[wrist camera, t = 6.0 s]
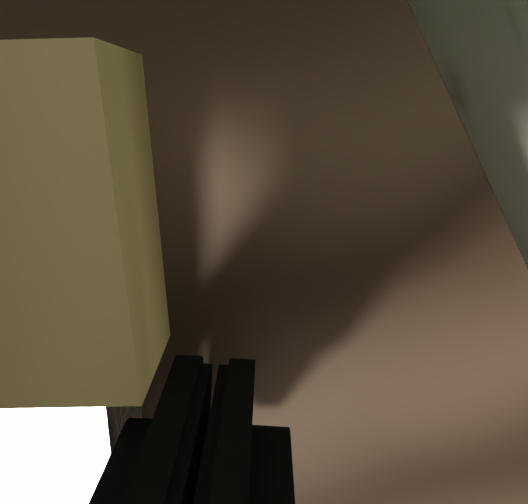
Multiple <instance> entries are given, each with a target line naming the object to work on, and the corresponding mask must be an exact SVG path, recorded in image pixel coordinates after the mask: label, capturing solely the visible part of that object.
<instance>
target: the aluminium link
mask: <svg viewBox="0 0 528 504" xmlns="http://www.w3.org/2000/svg"><path fill="white" fill-rule="evenodd" d="M128 418H143V416H142V406H123V407H69V408H16V409H0V504H89V501H90V499H91V497H92V495H93V493H94V490H95V488H96V486H97V484H98V481H99V479H100V477H101V475H102V472H103V470H104V468H105V466H106V463H107V461H108V459H109V457H110V455H111V452H112V450H113V448H114V446H115V443H116V441H117V439H118V437H119V434H120V432H121V430H122V428H123V425H124V424H125V422H126V420H127V419H128Z"/></svg>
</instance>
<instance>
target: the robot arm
mask: <svg viewBox="0 0 528 504" xmlns="http://www.w3.org/2000/svg"><path fill="white" fill-rule="evenodd" d="M254 380H255V359H242V358H230V360H229V365H225V364H219V367H218V372H217V378H216V383H215V388H214V394H213V399H212V404H211V394H212V364H208V363H203V356H193V355H176V356H175V358H174V361H173V363H172V366H171V369H170V372H169V374H168V377H167V380H166V383H165V385H164V388H163V391H162V394H161V396H160V399H159V402H158V404H157V407H156V410H155V413H154V415H153V418H152V419H147V418H128V419H127V420H126V422H125V424H124V425H123V428H122V430H121V432H120V434H119V437H118V439H117V441H116V443H115V446H114V448H113V450H112V452H111V455H110V457H109V459H108V461H107V463H106V466H105V468H104V470H103V472H102V475H101V477H100V479H99V481H98V484H97V486H96V488H95V490H94V493H93V495H92V497H91V499H90V501H89V504H295V492H294V477H293V462H292V447H291V433H290V428H289V427H280V426H264V425H252V421H253V400H254Z"/></svg>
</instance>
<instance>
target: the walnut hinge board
mask: <svg viewBox="0 0 528 504" xmlns="http://www.w3.org/2000/svg"><path fill="white" fill-rule="evenodd" d="M176 355H193V356H203V363H208V364H212V394H211V404H212V399H213V394H214V388H215V383H216V378H217V372H218V367H219V364H225V365H229V360H230V358H242V359H255V380H254V400H253V421H252V425H264V426H280V427H289V428H290V433H291V447H292V462H293V477H294V492H295V504H528V268H527V266H526V263H525V261H524V259H523V257H522V254H521V252H520V250H519V248H518V246H517V243H516V241H515V239H514V237H513V235H512V232H511V230H510V228H509V226H508V223H507V221H506V219H505V217H504V215H503V212H502V210H501V208H500V206H499V204H498V201H497V199H496V197H495V195H494V193H493V190H492V188H491V186H490V184H489V181H488V179H487V177H486V175H485V173H484V170H483V168H482V166H481V164H480V162H479V159H478V157H477V155H476V153H475V150H474V148H473V146H472V144H471V142H470V139H469V137H468V135H467V133H466V131H465V128H464V126H463V124H462V122H461V120H460V117H459V115H458V113H457V111H456V108H455V106H454V104H453V102H452V100H451V97H450V95H449V93H448V91H447V89H446V86H445V84H444V82H443V80H442V78H441V75H440V73H439V71H438V69H437V66H436V64H435V62H434V60H433V58H432V55H431V53H430V51H429V49H428V47H427V44H426V42H425V40H424V38H423V35H422V33H421V31H420V29H419V27H418V24H417V22H416V20H415V18H414V16H413V13H412V11H411V9H410V7H409V5H408V2H407V0H0V409H16V408H69V407H123V406H142V416H143V418H147V419H152V418H153V415H154V413H155V410H156V407H157V404H158V402H159V399H160V396H161V394H162V391H163V388H164V385H165V383H166V380H167V377H168V374H169V372H170V369H171V366H172V363H173V361H174V358H175V356H176Z"/></svg>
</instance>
